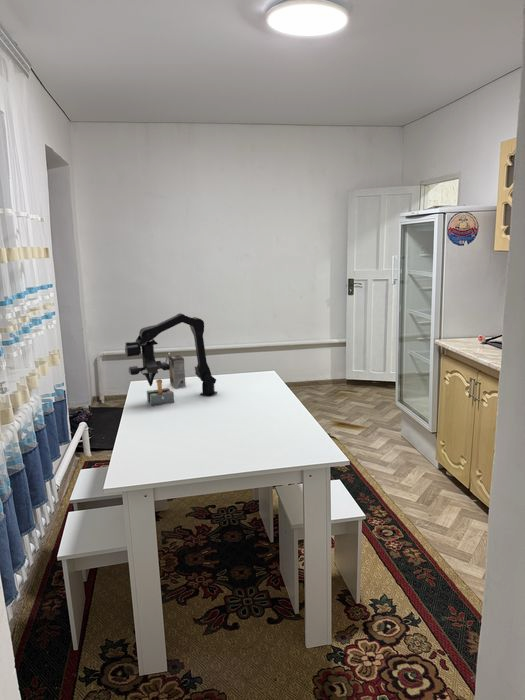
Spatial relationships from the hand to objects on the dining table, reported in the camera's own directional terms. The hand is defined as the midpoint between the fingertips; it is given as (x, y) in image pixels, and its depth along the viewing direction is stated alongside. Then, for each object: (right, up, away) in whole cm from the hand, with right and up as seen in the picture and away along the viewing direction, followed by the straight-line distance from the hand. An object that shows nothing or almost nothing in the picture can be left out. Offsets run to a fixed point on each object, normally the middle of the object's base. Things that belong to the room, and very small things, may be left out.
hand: (150, 385), depth 254 cm
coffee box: (+8, -2, +30) cm, 32 cm away
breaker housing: (+4, -8, +4) cm, 10 cm away
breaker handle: (+4, -5, +3) cm, 7 cm away
